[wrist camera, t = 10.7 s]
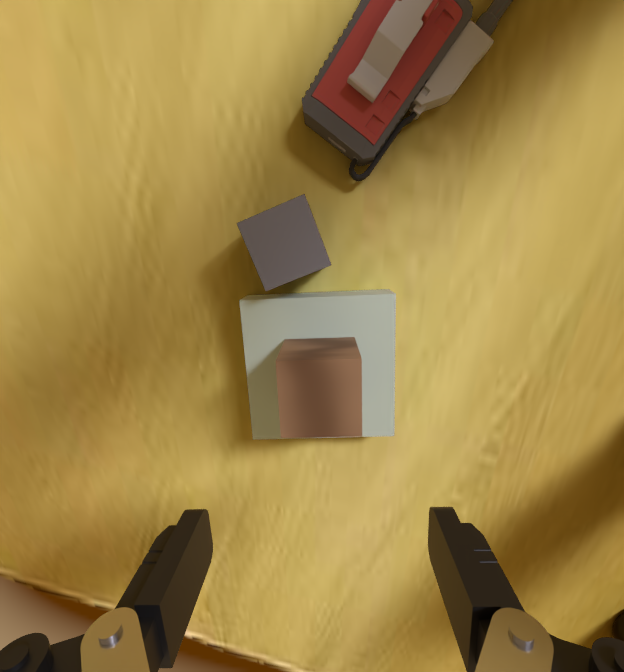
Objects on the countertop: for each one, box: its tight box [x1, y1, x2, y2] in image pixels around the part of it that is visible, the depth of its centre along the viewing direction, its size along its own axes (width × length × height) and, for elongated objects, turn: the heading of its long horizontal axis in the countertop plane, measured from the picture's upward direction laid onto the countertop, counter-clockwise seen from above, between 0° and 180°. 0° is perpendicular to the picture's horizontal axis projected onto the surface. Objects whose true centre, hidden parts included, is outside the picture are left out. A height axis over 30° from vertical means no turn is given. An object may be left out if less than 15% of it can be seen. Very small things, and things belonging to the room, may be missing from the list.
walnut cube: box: [275, 337, 362, 438], centre depth 26 cm, size 6×6×6 cm
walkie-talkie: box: [302, 0, 513, 181], centre depth 24 cm, size 9×4×20 cm
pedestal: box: [239, 289, 396, 440], centre depth 30 cm, size 12×12×3 cm
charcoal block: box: [237, 194, 331, 291], centre depth 27 cm, size 5×5×5 cm
